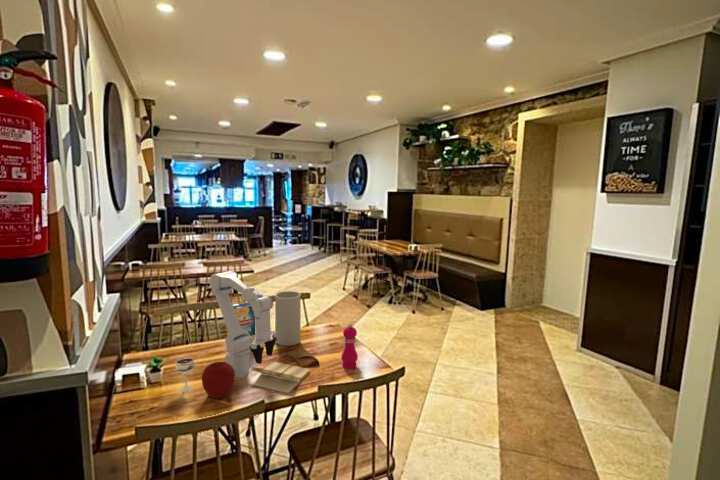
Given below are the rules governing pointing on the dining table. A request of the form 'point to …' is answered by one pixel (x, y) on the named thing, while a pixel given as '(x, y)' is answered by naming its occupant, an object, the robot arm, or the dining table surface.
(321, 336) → the dining table surface
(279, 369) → the laid row
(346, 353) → the pepper mill
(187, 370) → the wineglass
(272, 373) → the plank
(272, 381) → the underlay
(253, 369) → the plank
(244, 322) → the beverage box
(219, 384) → the apple
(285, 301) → the cylinder vase
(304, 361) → the brown shoe
